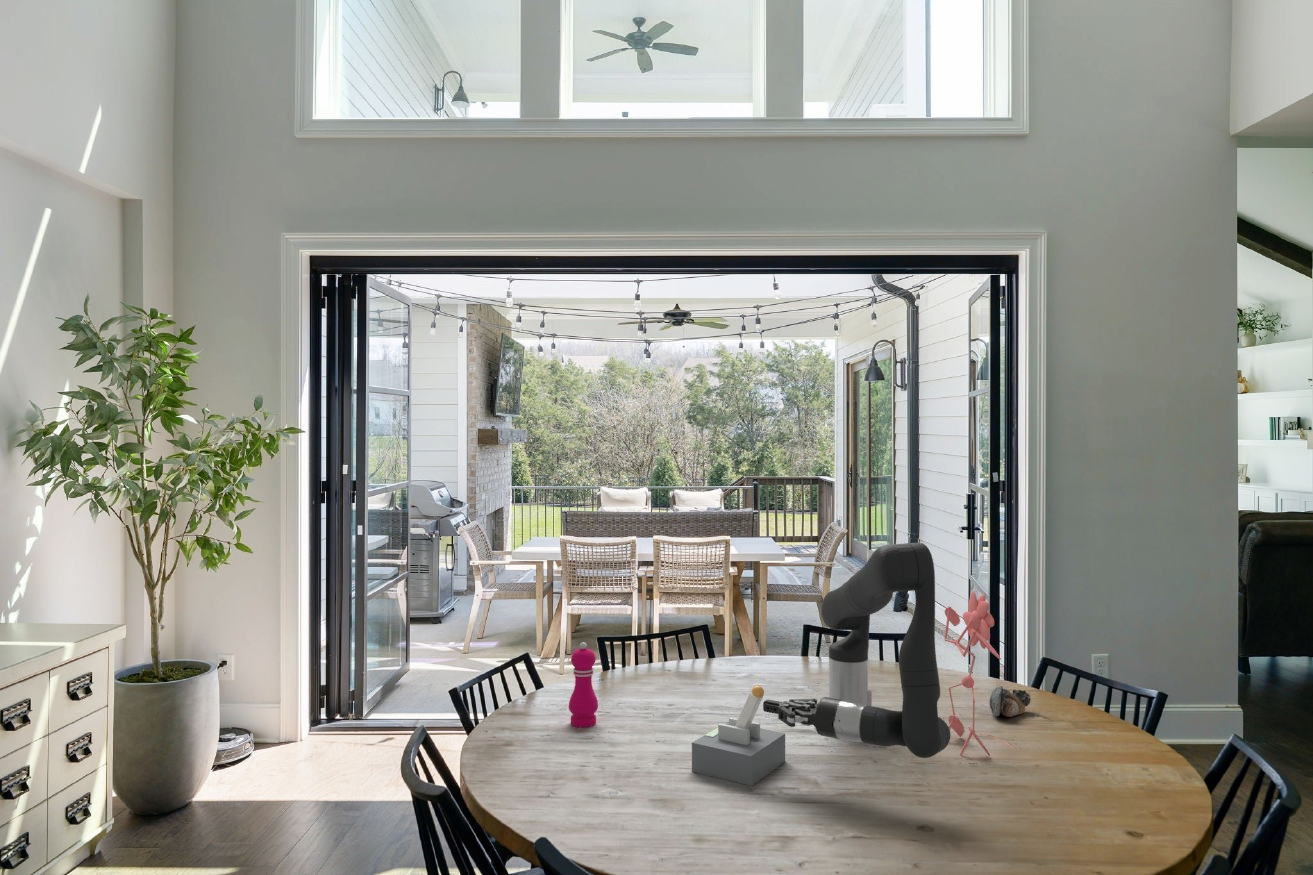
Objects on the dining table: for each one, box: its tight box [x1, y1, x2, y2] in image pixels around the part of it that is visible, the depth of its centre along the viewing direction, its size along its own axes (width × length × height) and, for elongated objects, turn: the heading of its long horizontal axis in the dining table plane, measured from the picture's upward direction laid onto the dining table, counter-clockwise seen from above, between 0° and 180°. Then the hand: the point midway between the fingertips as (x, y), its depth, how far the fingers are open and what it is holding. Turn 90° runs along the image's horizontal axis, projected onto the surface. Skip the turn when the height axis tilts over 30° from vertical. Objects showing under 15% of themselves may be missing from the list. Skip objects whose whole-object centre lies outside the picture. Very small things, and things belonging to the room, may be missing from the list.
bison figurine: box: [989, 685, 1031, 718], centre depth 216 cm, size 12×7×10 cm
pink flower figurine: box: [944, 591, 1015, 765], centre depth 194 cm, size 15×26×35 cm, turn 5°
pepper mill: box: [568, 641, 599, 729], centre depth 210 cm, size 7×7×20 cm
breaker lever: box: [735, 685, 765, 729], centre depth 181 cm, size 3×3×13 cm
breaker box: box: [691, 717, 786, 787], centre depth 182 cm, size 16×14×9 cm
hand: (764, 705), depth 179 cm, fingers closed
